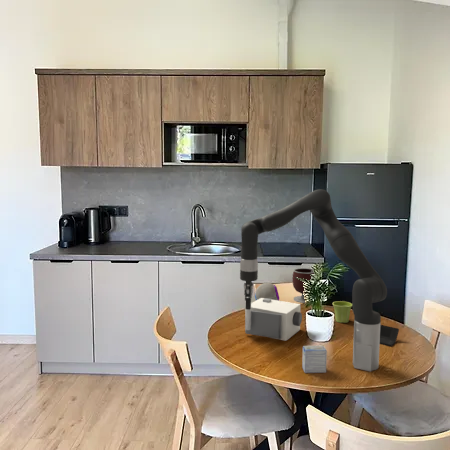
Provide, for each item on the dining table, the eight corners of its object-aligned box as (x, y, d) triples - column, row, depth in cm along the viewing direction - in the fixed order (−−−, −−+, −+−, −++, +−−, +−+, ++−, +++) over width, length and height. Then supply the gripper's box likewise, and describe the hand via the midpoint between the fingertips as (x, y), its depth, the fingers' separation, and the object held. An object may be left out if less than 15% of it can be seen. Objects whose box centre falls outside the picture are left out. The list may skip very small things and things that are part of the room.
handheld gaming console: (365, 338, 184) (372, 317, 188) (366, 343, 190) (372, 323, 194) (393, 347, 178) (399, 325, 182) (393, 353, 184) (399, 331, 188)
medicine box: (323, 367, 160) (323, 345, 159) (326, 373, 155) (327, 350, 154) (301, 367, 159) (302, 345, 158) (304, 373, 155) (305, 350, 154)
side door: (278, 341, 182) (278, 300, 180) (242, 336, 188) (243, 295, 186) (281, 338, 186) (282, 297, 184) (246, 332, 192) (246, 293, 190)
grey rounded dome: (279, 315, 219) (280, 286, 218) (254, 314, 220) (254, 285, 219) (278, 307, 232) (279, 280, 231) (254, 307, 233) (255, 279, 232)
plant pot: (328, 320, 211) (328, 303, 210) (339, 316, 217) (340, 299, 217) (344, 325, 204) (344, 307, 203) (355, 321, 210) (356, 304, 209)
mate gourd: (291, 302, 242) (291, 267, 239) (293, 295, 255) (293, 262, 253) (319, 304, 238) (320, 268, 236) (319, 297, 251) (320, 263, 249)
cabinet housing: (290, 341, 184) (291, 312, 183) (245, 332, 196) (245, 304, 194) (304, 330, 198) (304, 302, 196) (260, 321, 209) (261, 295, 208)
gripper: (257, 272, 177) (256, 313, 180) (258, 265, 191) (257, 303, 193) (238, 272, 178) (238, 312, 180) (241, 265, 192) (240, 302, 194)
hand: (248, 307), depth 187 cm, fingers closed on side door, 2 cm apart
